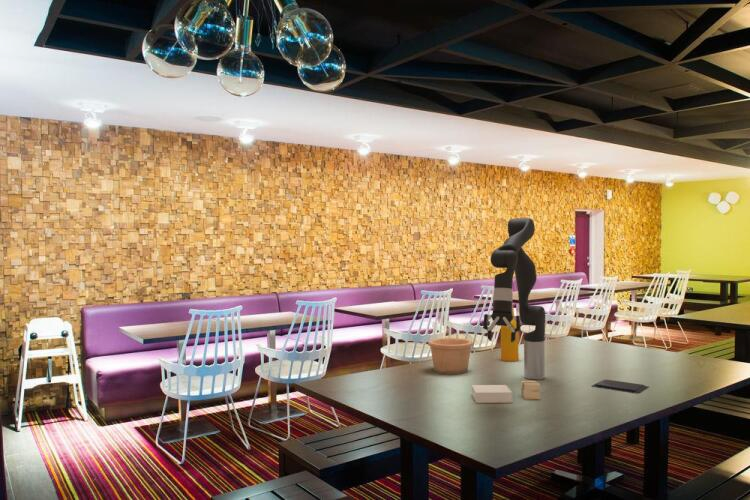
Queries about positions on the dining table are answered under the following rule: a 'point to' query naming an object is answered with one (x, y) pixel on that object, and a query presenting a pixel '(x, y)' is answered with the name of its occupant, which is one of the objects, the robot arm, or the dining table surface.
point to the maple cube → (530, 389)
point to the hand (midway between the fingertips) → (501, 341)
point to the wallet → (621, 386)
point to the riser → (491, 394)
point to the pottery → (450, 355)
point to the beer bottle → (509, 343)
